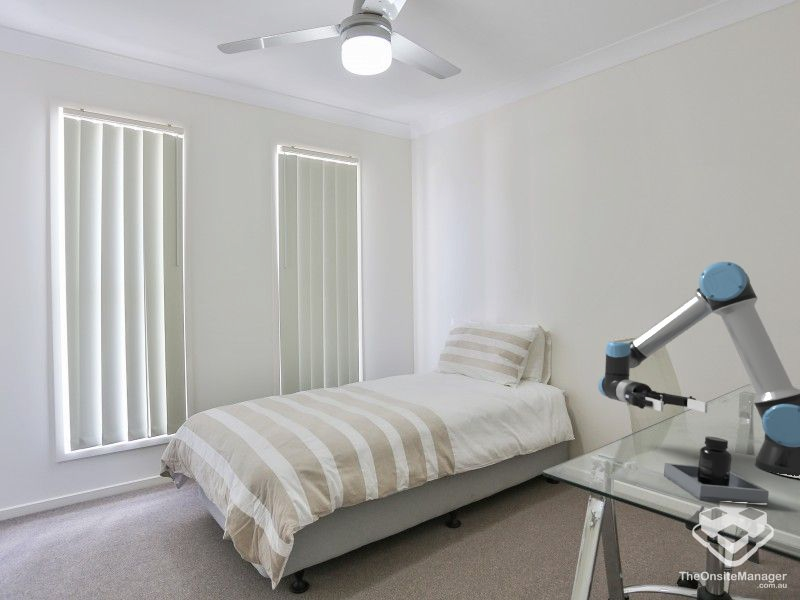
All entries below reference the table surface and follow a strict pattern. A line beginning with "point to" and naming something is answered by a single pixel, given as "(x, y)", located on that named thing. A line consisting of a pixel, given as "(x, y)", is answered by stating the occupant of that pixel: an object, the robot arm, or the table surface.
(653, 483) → the table surface
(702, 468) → the supplement bottle
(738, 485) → the charcoal tray
